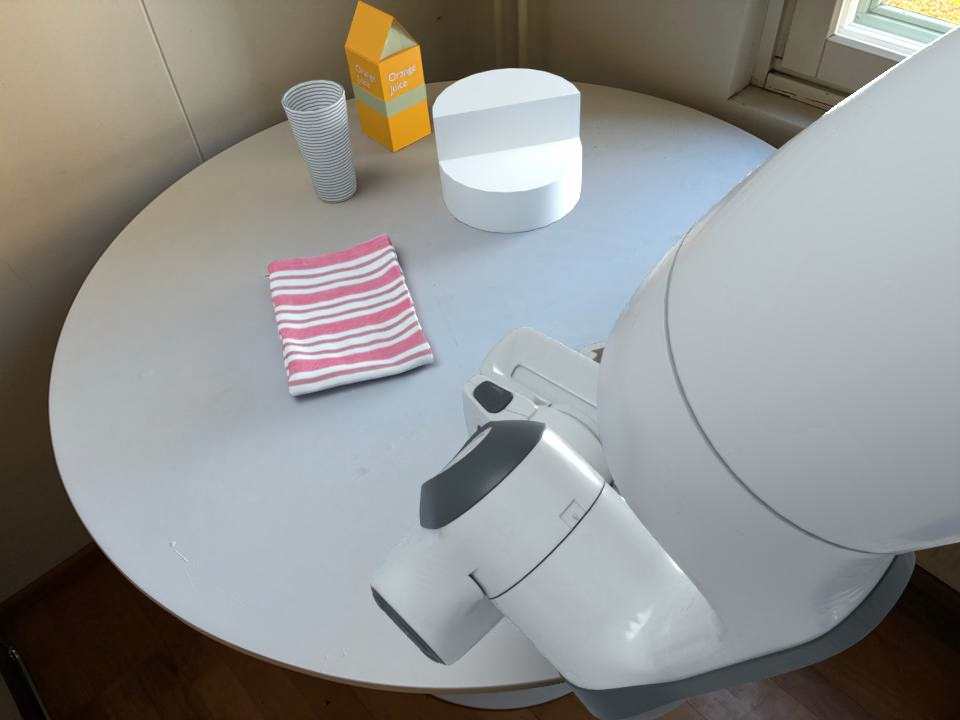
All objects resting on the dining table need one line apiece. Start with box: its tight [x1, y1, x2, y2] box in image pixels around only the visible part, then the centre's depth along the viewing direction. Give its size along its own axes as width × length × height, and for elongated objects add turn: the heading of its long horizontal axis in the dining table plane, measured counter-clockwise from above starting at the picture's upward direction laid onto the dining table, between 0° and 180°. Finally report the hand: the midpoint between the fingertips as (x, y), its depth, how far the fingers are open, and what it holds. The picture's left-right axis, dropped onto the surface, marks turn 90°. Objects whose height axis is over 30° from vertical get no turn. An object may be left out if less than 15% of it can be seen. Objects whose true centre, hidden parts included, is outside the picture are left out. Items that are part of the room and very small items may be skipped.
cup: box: [281, 78, 358, 204], centre depth 108 cm, size 8×8×16 cm
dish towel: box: [267, 232, 434, 397], centre depth 94 cm, size 17×23×4 cm
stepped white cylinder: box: [432, 67, 583, 234], centre depth 106 cm, size 20×20×13 cm
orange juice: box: [344, 0, 432, 153], centre depth 116 cm, size 8×9×20 cm
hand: (653, 353), depth 63 cm, fingers closed on supplement box, 4 cm apart
